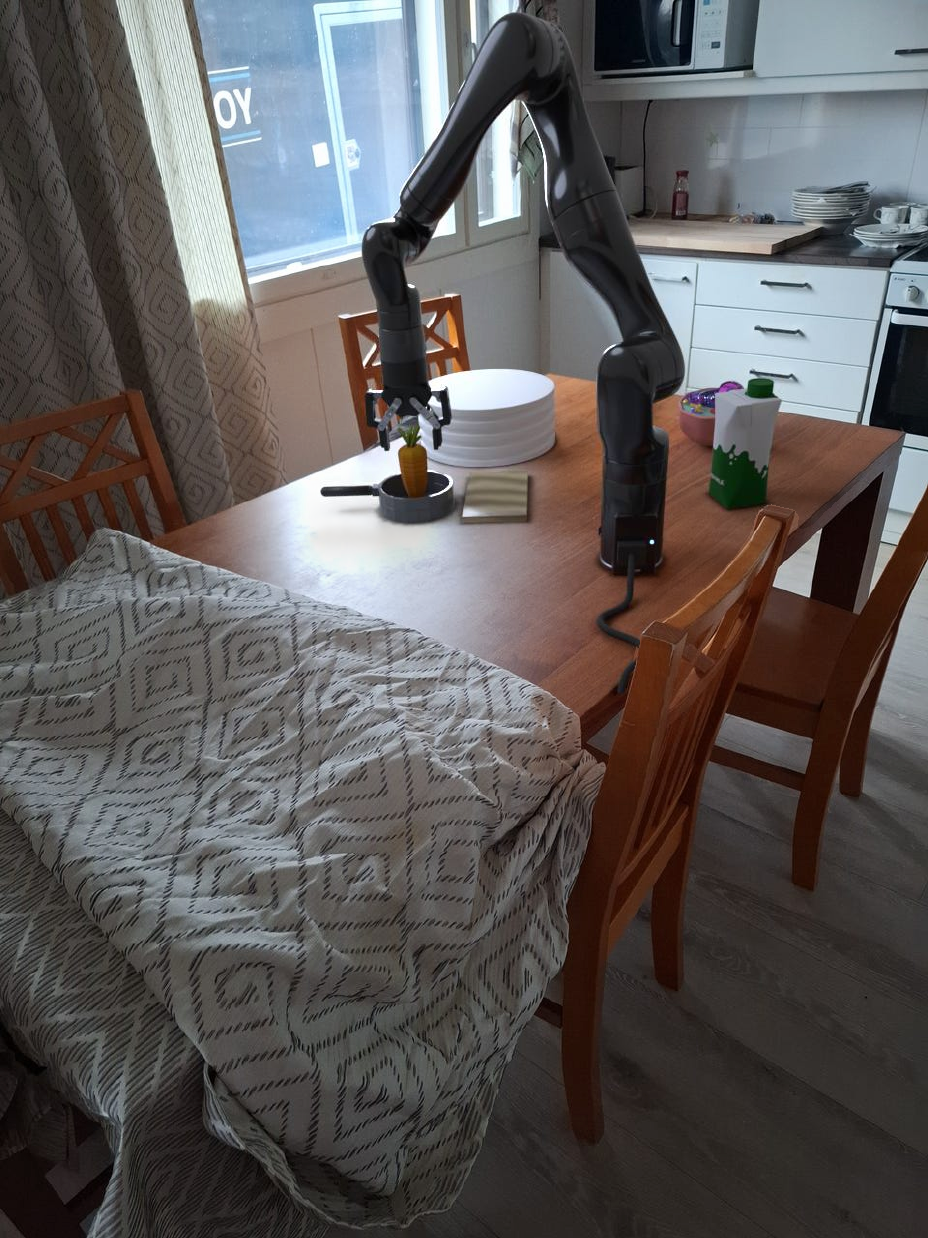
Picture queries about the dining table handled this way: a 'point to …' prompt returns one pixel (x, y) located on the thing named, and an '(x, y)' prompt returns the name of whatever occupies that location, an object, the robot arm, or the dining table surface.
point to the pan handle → (350, 490)
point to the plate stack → (492, 418)
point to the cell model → (701, 412)
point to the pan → (416, 499)
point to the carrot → (413, 463)
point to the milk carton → (743, 443)
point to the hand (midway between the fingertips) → (412, 448)
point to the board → (496, 497)
